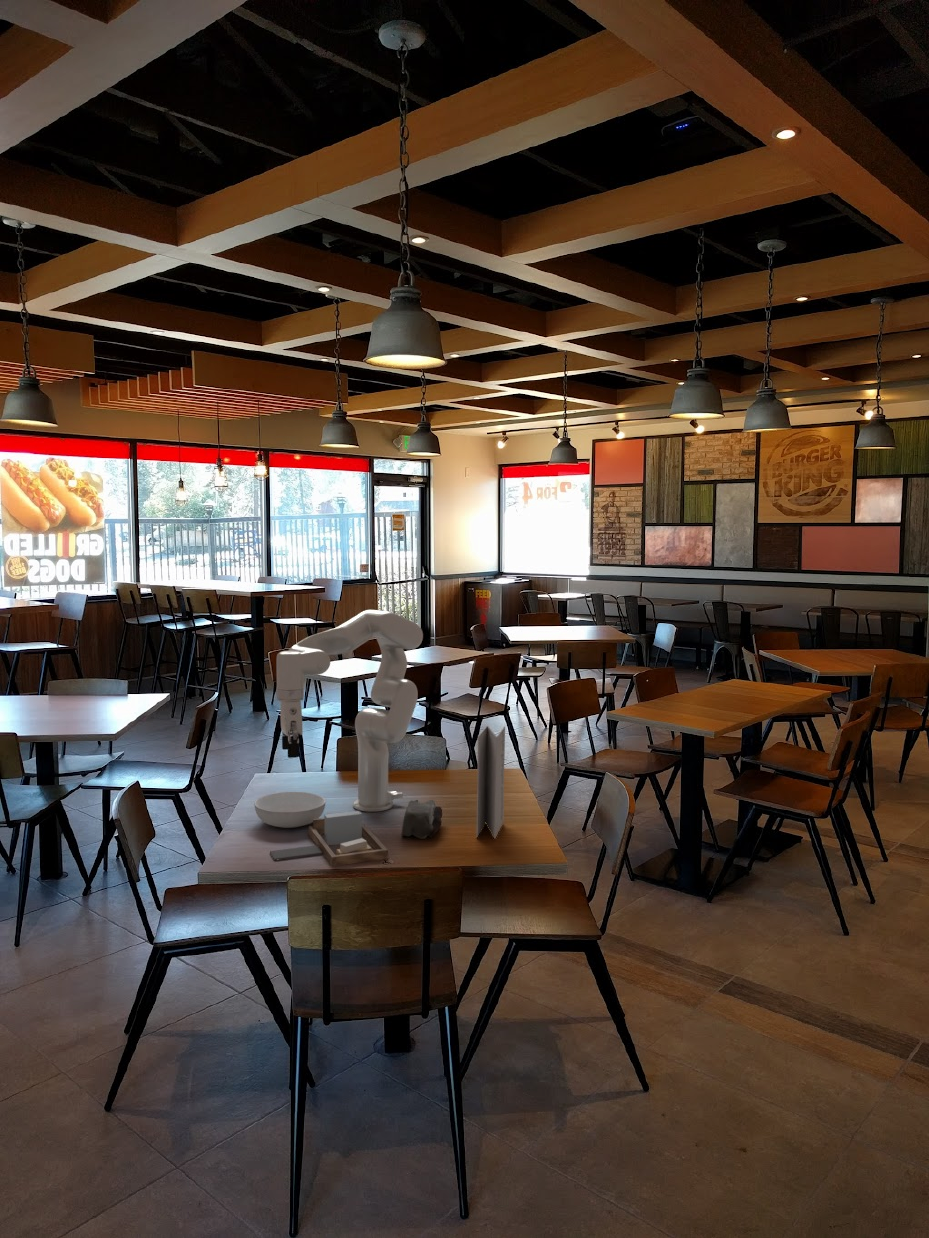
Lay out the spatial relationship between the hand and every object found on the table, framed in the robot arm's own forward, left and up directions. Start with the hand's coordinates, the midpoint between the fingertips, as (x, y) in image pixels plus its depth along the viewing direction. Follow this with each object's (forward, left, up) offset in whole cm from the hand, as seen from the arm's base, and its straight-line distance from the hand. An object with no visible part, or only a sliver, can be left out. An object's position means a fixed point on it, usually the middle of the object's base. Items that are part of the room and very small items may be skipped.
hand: (290, 753), depth 261 cm
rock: (-36, +12, -24) cm, 45 cm away
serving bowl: (-2, -9, -24) cm, 26 cm away
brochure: (-55, +19, -24) cm, 63 cm away
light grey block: (-12, +12, -24) cm, 29 cm away
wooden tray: (-12, +16, -24) cm, 31 cm away
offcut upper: (-12, +23, -22) cm, 34 cm away
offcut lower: (-12, +24, -24) cm, 36 cm away
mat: (+2, +17, -24) cm, 29 cm away
